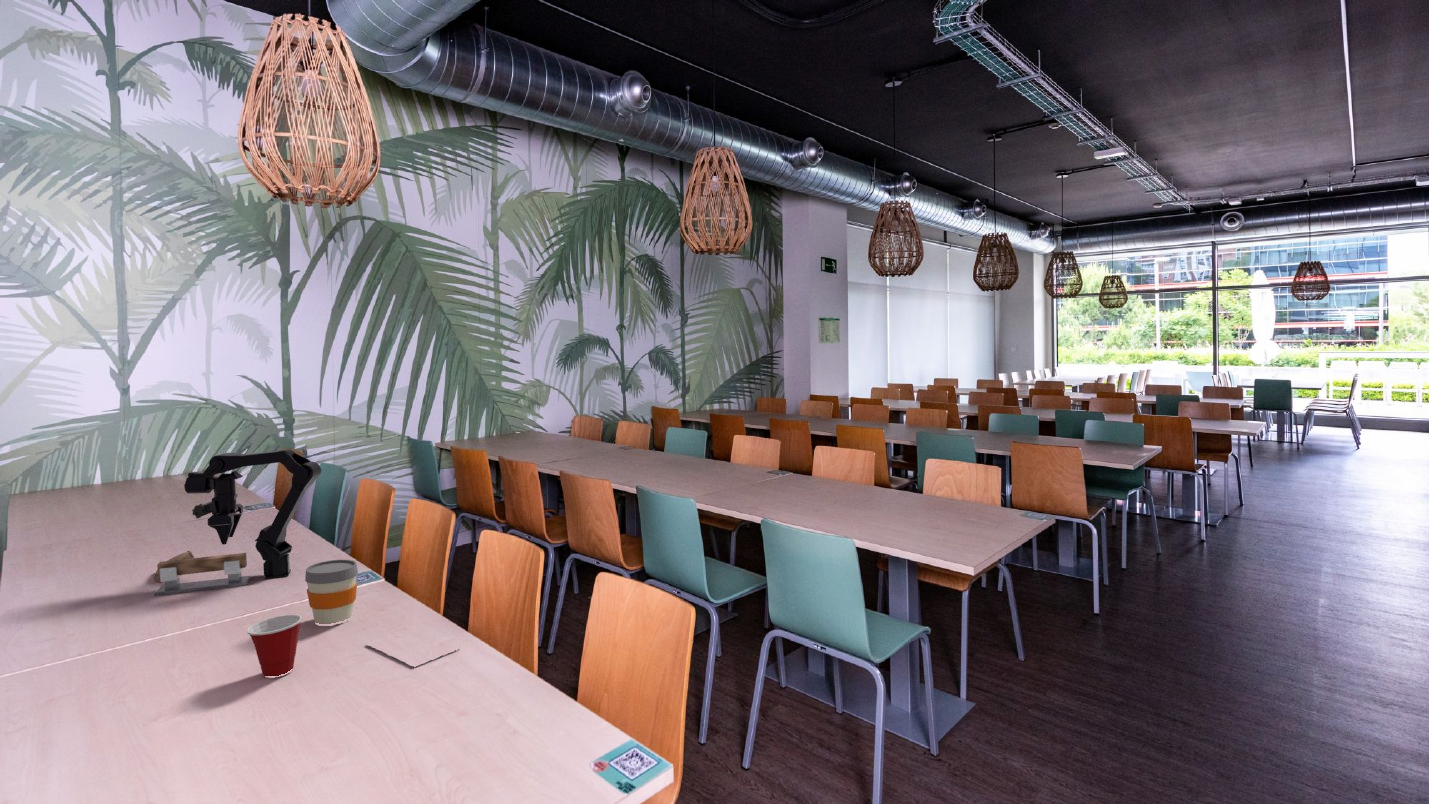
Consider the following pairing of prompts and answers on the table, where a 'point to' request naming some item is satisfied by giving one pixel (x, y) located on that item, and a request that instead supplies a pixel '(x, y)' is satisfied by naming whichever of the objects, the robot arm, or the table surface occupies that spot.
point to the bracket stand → (175, 586)
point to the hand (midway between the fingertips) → (227, 540)
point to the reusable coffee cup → (332, 590)
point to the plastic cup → (276, 643)
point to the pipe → (179, 557)
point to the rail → (202, 563)
